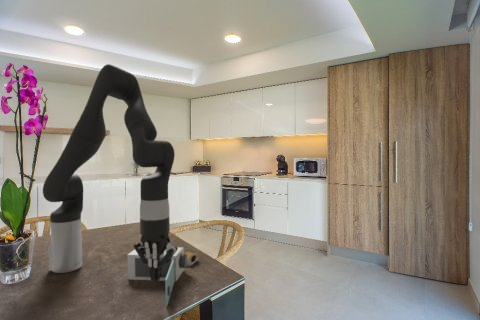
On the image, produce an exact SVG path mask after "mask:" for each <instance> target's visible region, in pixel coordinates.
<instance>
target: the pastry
mask: <svg viewBox="0 0 480 320" xmlns="http://www.w3.org/2000/svg"><path fill="white" fill-rule="evenodd" d="M184 254H187V257H188V262H187V266H186V267H191V266H193V265H195V263H196V262H198V260H199V256H198V254H197V253H194V252H190V251H186V252H184Z"/></svg>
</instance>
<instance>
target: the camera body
mask: <svg viewBox="0 0 480 320" xmlns="http://www.w3.org/2000/svg"><path fill="white" fill-rule="evenodd" d="M176 247H177V248H178V249H177V251H176V252H175V254H174V255H173V256H172V258H175V273H176V281H175V282H177V281H178V280H179V278H180V277H181V275H182V274H183V272H184V271H185V269H186V268H187V267H188V266H187V262H188V257H187V254H184V251H185V249H184V247H181V246H179V247H178V246H176ZM166 249H167V248H166ZM165 254H166V250H165V251H164V256H165ZM126 255H127V256H126V257H127V280H133V281H135V280H136V281H138V280H139V281H151V278H150V267H149V266H148V264H144V263H143V262H142V260H141V258H140V257H139V255H138V253H137V252H136V250H135V249H133V250H132V251H130V252H129V253H127V254H126ZM144 256H145V255H144ZM164 256H163V257H164ZM145 257H146V256H145ZM172 258H171V259H170V261H169V262H168V263H167V264H165V265H163V266H162V276H161V278H160V279H159V280H158V281H162V282H163V281H164V282H165V279H166V276H167V273H168V271H169V268H170V265H171V262H172Z"/></svg>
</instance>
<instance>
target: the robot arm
mask: <svg viewBox="0 0 480 320" xmlns="http://www.w3.org/2000/svg"><path fill="white" fill-rule="evenodd" d="M107 97H112V98H114V99H117V100H120V101H123V102H124V103H125V104H126V106H127V108H126V110H125V112H124V116H123V118H124V124H125V128H126V129H127V131H128V134H129V136H130V138H131V148H132V160H133V161H134V163H135V164H136V165H137V166H139V167H140V168H155V172H154V173H153V174H150V175H148V176H145V177H142V179H141V180H140V204H139V232H140V235H141V237H140V241H138V242H137V243H134V245H133V248H134V250H136V252H137V253H138V255H139V257H140V258H141V260H142V262H143V263H144V264H148V266H149V267H150V278H151V280H150V281H153V282H159V281H160V280H159V279H160V278H161V276H162V266H163V265H165V264H167V263H168V262H169V261H170V259H171V258H172V256H173V255H174V254H175V252H176V251H177V249H178V248H177V247H178V246H177V245H175V246H173V245H172V244H171V239H170V237H169V234H170V231H171V230H170V229H171V228H170V227H171V226H170V225H171V224H170V203H169V181H170V176H171V172H172V169H173V165H174V161H175V155H176V154H175V149H174V147H173V145H172V144H171V142H170V141H167V140H156V139H157V135H158V132H157V128H156V127H155V124H154V123H153V120H152V119H151V117H150V115H149V113H148V112H147V109H146V105H145V103H144V102H145V101H144V98H143V94H142V90H141V87H140V84H139V81H138V79H137V78H136V76H135V75H134V74H133V73H131V72H129V71H126V70H125V69H123V68H120V67H119V66H116V65H113V64H112V63H111V64H110V63H107V64H105V65H103V67H102V68H101V69H100V70H99V72H98V74H97V76H96V79H95V80H94V84H93V86H92V89H91V92H90V95H89V97H88V99H87V102H86V104H85V107H84V109H83V111H82V113H81V115H80V117H79V119H78V120H77V123H76V125H75V126H74V127H73V130H72V132H71V134H70V136H69V138H68V140H67V143H66V145H65V147H64V149H63V151H62V152H61V154H60V156H59V158H58V160H57V162H56V163H55V165H54V166H53V167H52V169H51V170H50V172H49V174H48V175H47V177H46V178H45V180H44V183H43V186H42V195H43V198H44V199H45V200H46V201H47V202H50V203H60V202H62V203H61V205H60V206H59V207H58V208H56V209H55V210H54V211H52V212H51V213H50V215H49V216H50V217H49V219H50V221H49V223H50V242H49V243H48V245H47V247H48V249H47V251H48V270H49V271H50V272H52V273H55V274H64V273H71V272H73V271H76V270H78V269H80V268H82V267H83V248H82V247H83V245H82V244H83V241H82V238H83V237H82V212H83V209H84V185H83V180H82V178H81V177H80V176H79V175H78V174H75V172H76V171H77V170H78V169H79V168H81V167H82V166H83V165H84V164H86V162H88V161H89V160H91V159H92V158H93V157H94V156H95V155H96V154H97V152H98V151H99V149H100V148H101V146H102V143H103V142H104V140H105V137H106V134H107V132H106V130H107V128H106V123H105V119H104V110H103V109H104V105H105V103H106V100H107ZM166 248H167V249H166ZM165 250H166V254H165V256H164V251H165ZM144 255H145V256H146V257H145V256H144ZM163 256H164V257H163Z"/></svg>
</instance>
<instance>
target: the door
mask: <svg viewBox="0 0 480 320" xmlns="http://www.w3.org/2000/svg"><path fill="white" fill-rule="evenodd" d="M175 282H177V281H176V273H175V258H172V262H171V265H170V268H169V271H168V273H167V276H166V279H165V281H164V283H165V285H164V287H165V290H164V291H165V292H164V293H165V295H164V297H165V306H168V305H169V302H170V299H171V294H172V293H173V292H172V291H173V287H174V284H175Z"/></svg>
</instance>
